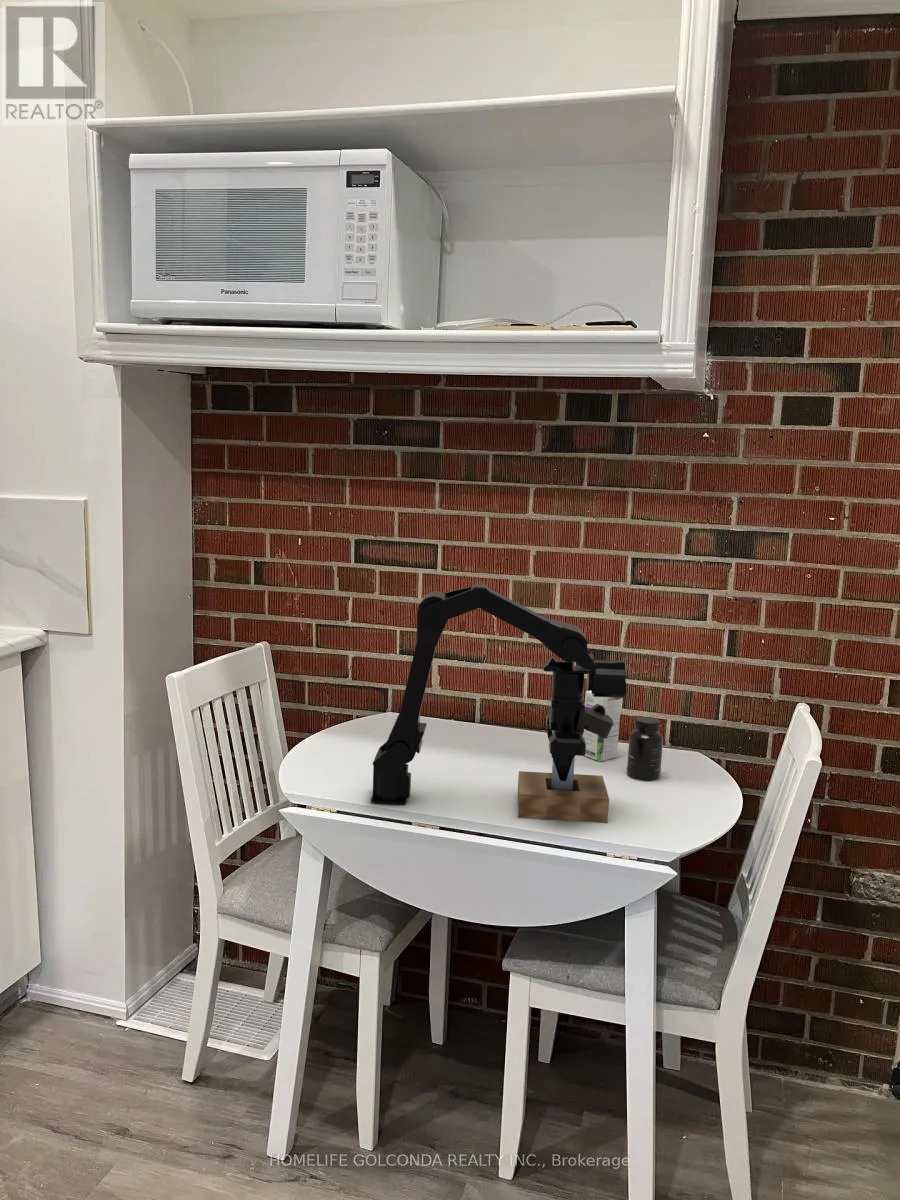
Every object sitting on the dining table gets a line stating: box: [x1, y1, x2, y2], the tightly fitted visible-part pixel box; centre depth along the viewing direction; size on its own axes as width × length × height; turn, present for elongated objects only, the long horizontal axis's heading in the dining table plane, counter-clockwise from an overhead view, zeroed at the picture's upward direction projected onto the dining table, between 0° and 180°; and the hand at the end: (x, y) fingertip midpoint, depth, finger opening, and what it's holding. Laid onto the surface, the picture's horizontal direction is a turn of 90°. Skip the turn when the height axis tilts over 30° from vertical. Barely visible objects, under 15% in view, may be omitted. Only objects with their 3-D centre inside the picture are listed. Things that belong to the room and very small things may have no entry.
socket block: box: [517, 770, 610, 824], centre depth 176 cm, size 16×12×4 cm
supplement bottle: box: [626, 716, 664, 782], centre depth 194 cm, size 7×7×12 cm
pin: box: [551, 756, 576, 791], centre depth 175 cm, size 4×4×10 cm
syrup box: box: [582, 690, 622, 763], centre depth 205 cm, size 6×6×14 cm
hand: (562, 776), depth 176 cm, fingers closed on pin, 4 cm apart
